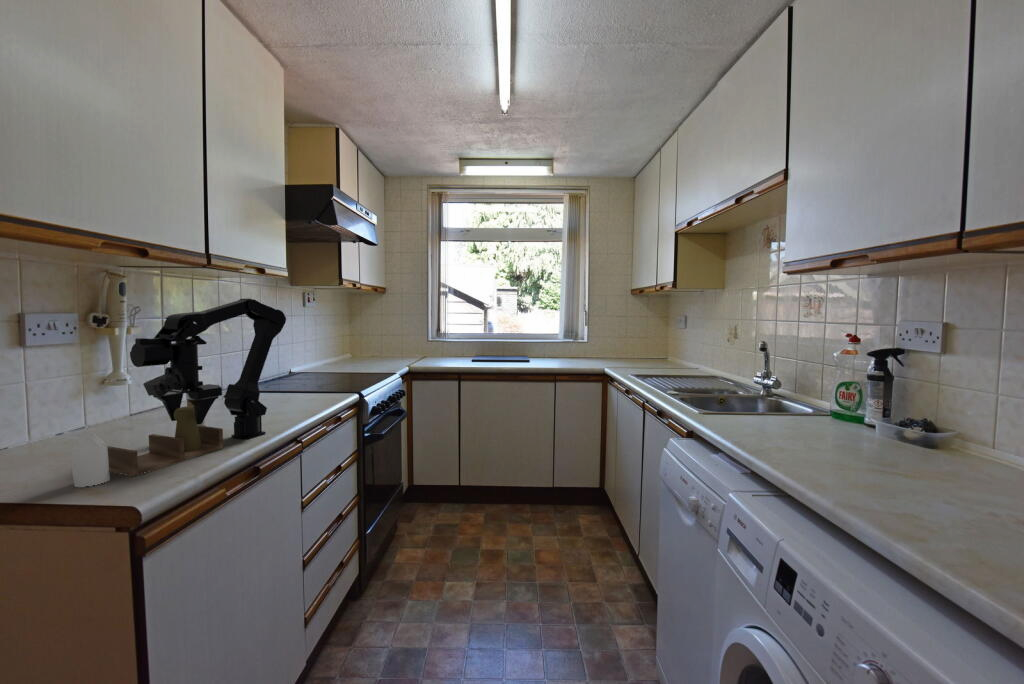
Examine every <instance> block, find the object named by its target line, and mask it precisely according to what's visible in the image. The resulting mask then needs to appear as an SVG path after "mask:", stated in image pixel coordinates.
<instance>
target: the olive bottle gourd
mask: <svg viewBox="0 0 1024 684" xmlns="http://www.w3.org/2000/svg"><path fill="white" fill-rule="evenodd" d="M174 418H175V420H176V426H175V432H174V437H175V438H182V439H184V452H189V451H194V450H198V449H200V448H202V444H201V439H200V434H199V429H198V424H197V423H196V418H195V411H194V407H191V406H188V407H187V406H182V407H181V406H180V408H178V409H176V410H175V412H174Z"/></svg>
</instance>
